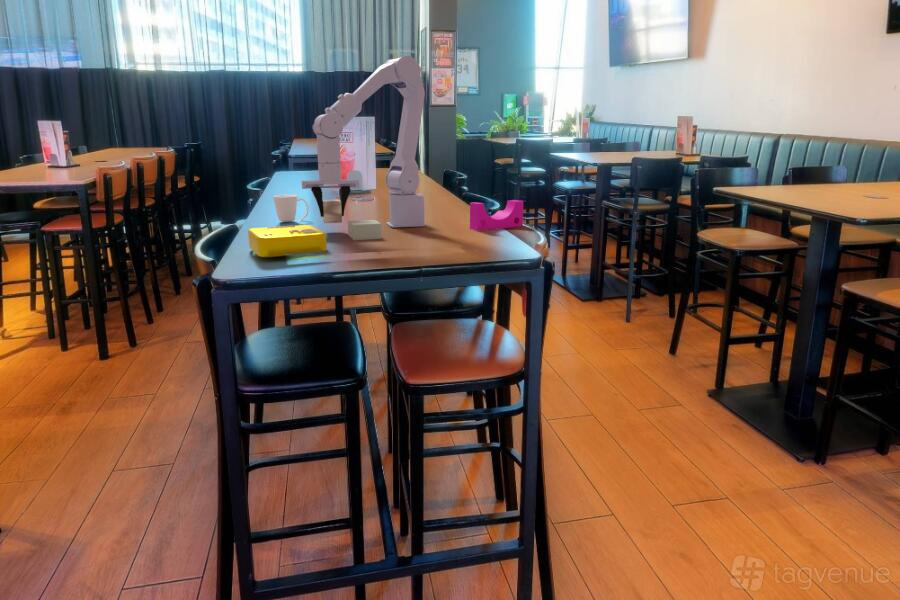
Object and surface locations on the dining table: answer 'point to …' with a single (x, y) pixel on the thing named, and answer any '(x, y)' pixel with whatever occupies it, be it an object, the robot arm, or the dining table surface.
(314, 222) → the dining table surface
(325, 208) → the ash block
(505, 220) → the toy block
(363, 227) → the sage base block
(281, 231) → the element tile
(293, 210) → the cup
